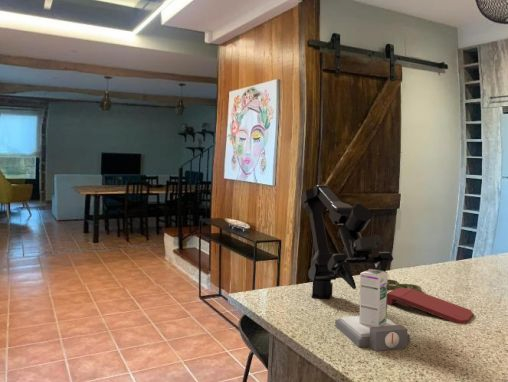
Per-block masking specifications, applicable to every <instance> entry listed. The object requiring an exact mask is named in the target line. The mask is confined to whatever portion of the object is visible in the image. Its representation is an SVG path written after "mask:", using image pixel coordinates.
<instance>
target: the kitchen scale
mask: <svg viewBox="0 0 508 382" xmlns="http://www.w3.org/2000/svg"><path fill="white" fill-rule="evenodd" d="M334 321H335V325H334V327H335V328H336V329H337V330H338V331H340V332H341V333H342V334H343V335H344V336H346V337H347V338H348V339H349V340H350V341H351V342H353V344H354V345H356V346H357V347H358V348H363V347H370V348H371V349H372V350H373V351H374V352H380V351H389V350H398V349H399V350H401V349H407V345H408V344H407V343H410V342H411V334H410V333H408V328H407V327H405V326H403V324H397V323H395V322H393V321H392V320H390V319H389V318H387V322H386V323H384V324H383V325H382V326H379V327H371V326H368V325H364V324H361V323H360V322H359V315H355V316H341V317H340V318H339V319H335V320H334Z"/></svg>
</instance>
